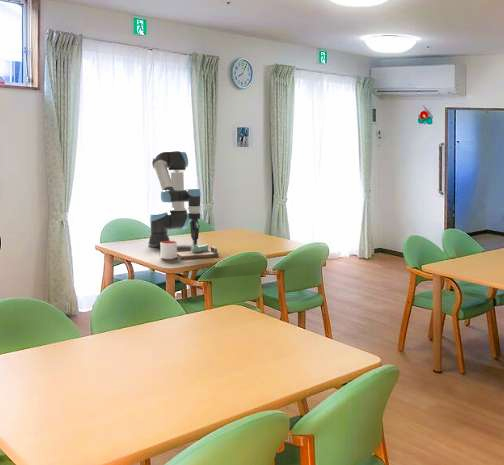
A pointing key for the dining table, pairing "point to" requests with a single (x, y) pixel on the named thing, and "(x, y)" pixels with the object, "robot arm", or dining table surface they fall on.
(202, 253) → the brown tray
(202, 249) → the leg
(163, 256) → the cup
